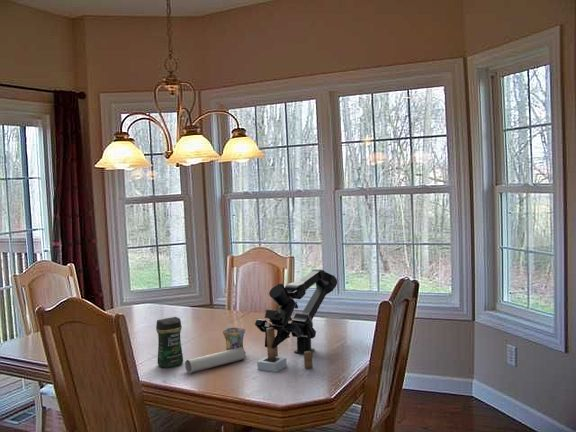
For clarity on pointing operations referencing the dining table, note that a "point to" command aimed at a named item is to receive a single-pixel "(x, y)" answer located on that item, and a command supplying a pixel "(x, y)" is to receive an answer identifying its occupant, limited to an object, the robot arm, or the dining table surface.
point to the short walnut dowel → (308, 360)
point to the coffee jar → (169, 342)
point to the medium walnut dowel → (276, 351)
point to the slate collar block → (271, 364)
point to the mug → (234, 337)
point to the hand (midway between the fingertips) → (269, 347)
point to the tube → (214, 360)
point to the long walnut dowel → (269, 344)
